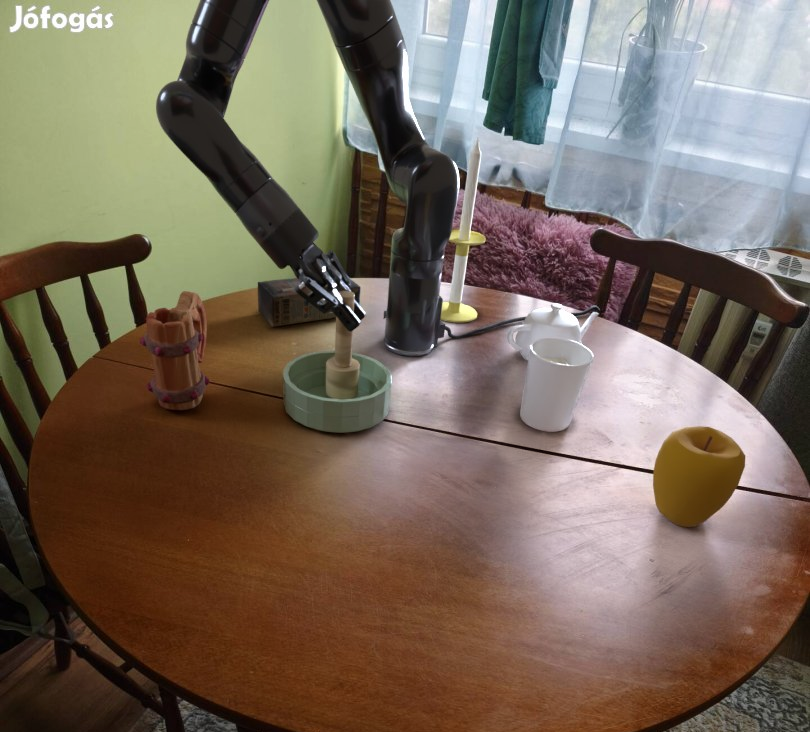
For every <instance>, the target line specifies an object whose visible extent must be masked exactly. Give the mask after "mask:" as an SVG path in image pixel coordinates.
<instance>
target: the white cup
mask: <svg viewBox="0 0 810 732" xmlns="http://www.w3.org/2000/svg"><path fill="white" fill-rule="evenodd" d="M593 362H594V353H593V351H591V349H589V348H588V347H587V346H586V345H583V344H580V343H577V342H575V341H572V340H568V339H563V338H554V337H549V338H541V339H537V340H535V341H534V342H532V343H531V345H530V353H529V359H528V361H527V367H526V371H525V372H526V373H525V379H524V385H523V390H522V391H523V392H522V397H521V403H520V411H519V416H520V419H521V421H522V422H523V423H524V424H525V425H527V426H529V427H530V428H533V429H535V430H538V431H542V432H547V433H555V432H561V431H565V430H566V429H567V428H568V427H569V426H570V424H571V422H572V419H573V417H574V415H575V412H576V408H577V405H578V403H579V400H580V397H581V394H582V391H583V388H584V385H585V383H586V380H587V377H588V374H589V372H590V368H591V366H592V363H593Z"/></svg>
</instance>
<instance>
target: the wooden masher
mask: <svg viewBox="0 0 810 732" xmlns="http://www.w3.org/2000/svg"><path fill="white" fill-rule="evenodd" d="M338 293H339V295H340V296H341V297H342V299H343V300H344V303H346V304H347V305H348V306H349V307H350V309H351V310H352V311H353V312H354V299H355V294H354V293H353V292H350V291H339V292H338ZM334 337H335V338H334V339H335V340H334V343H335V344H334V350H335V357H332V358H330V359H328V360H327V362H326V394H327V395H328V396H329V397H330V398H333V399H353V398H355V397H356V396H357V395H358V385H359V368H360V364H359V362H358V361H357V360H355V359H353V358H352V352H353V337H354V330H353V331H351V332H350V331H348V330H347V329H346V327H345V326H344V325H343V324H342V323H341V321H340V320H339V319H338V318H337V317H336V318H335V336H334Z"/></svg>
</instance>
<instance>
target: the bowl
mask: <svg viewBox="0 0 810 732" xmlns="http://www.w3.org/2000/svg"><path fill="white" fill-rule="evenodd" d="M332 357H335V349H333V350H318V351H314V352H313V351H312V352H307V353H304V354H301V355H299V356H296V357H295V358H293V359H291V360H290V361H289V362H288V363H287V364H286V365H285V366H284V370H283V371H282V389H283V390H282V394H283V395H282V396H283V406H284V409H285V412H286V414H287V415H289V417H290V418H292V419H293V421H295V422H297V423H299V424H301V425H303V426H305V427H307V428H310V429H314V430H317V431H320V432H326V433H334V434H335V433H338V434H339V433H340V434H341V433H346V434H347V433H354V432H360V431H364V430H367V429H371V428H374V427H375V426H377V425H378V424H380V423H381V422H383V421H384V420H385V419H386V418H387V416H388V415H389V414H390V413H389V412H390V403H391V391H392V377H393V376H392V374H391V372H390V370H389V368H388V367H387V366H386V365H384V364H383V363H381V362H380V361H379V360H377V359H375V358H372V357H370V356H368V355H365V354H361V353H357V352H353V351H352V358H353V359H355V360H357V361H358V362H359V364H360V368H359V385H358V395H357V396H356V397H355V398H353V399H333V398H330V397H329V396H328V395H327V394H326V362H327V360H328V359H330V358H332Z"/></svg>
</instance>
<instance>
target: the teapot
mask: <svg viewBox="0 0 810 732" xmlns="http://www.w3.org/2000/svg"><path fill="white" fill-rule="evenodd" d="M570 313H571V312H568V311H566V310H563V305H562V304H560V303H557V302H553V303H551V304H550V307H538V308H534V309H533V310H531V311H530V312H529V313H528V315H526V316H527V317H526V316H525V317H526V318H525V320H524V321H522V323H521V324H520V325H519V324H518V325H515V326H512V327H510V328H509V329H508V331H507V334H506V340H507V342H508V343H509V345H510V346H511V347H512V349H514V350H515V351H518V352H519V353H520V355H521V357H522V358H523V359H524V361H527V362H528V359H529V353H530V345H531V343H532V342H534V341H535V340H537V339H541V338H549V337H554V338H563V339H568V340H572V341H575V342H577V343H580V344H582V338H583V337H584V336H585V334H586V333H587V332H588V330H589V328H590V327H591V325H592V323H593V321H594V320H595V319H596V318H597V317H598V316H599V315H600V313H599V312H598V311H592V313H591V314H590V315H589V316H588V317H587V319H586V320H585V321H584V323H583V324H582V326H580V323H579V320H578V318H577V316H574V315H572V314H570ZM515 333H516V334H515ZM514 334H515V339H514ZM582 345H583V344H582Z"/></svg>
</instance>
